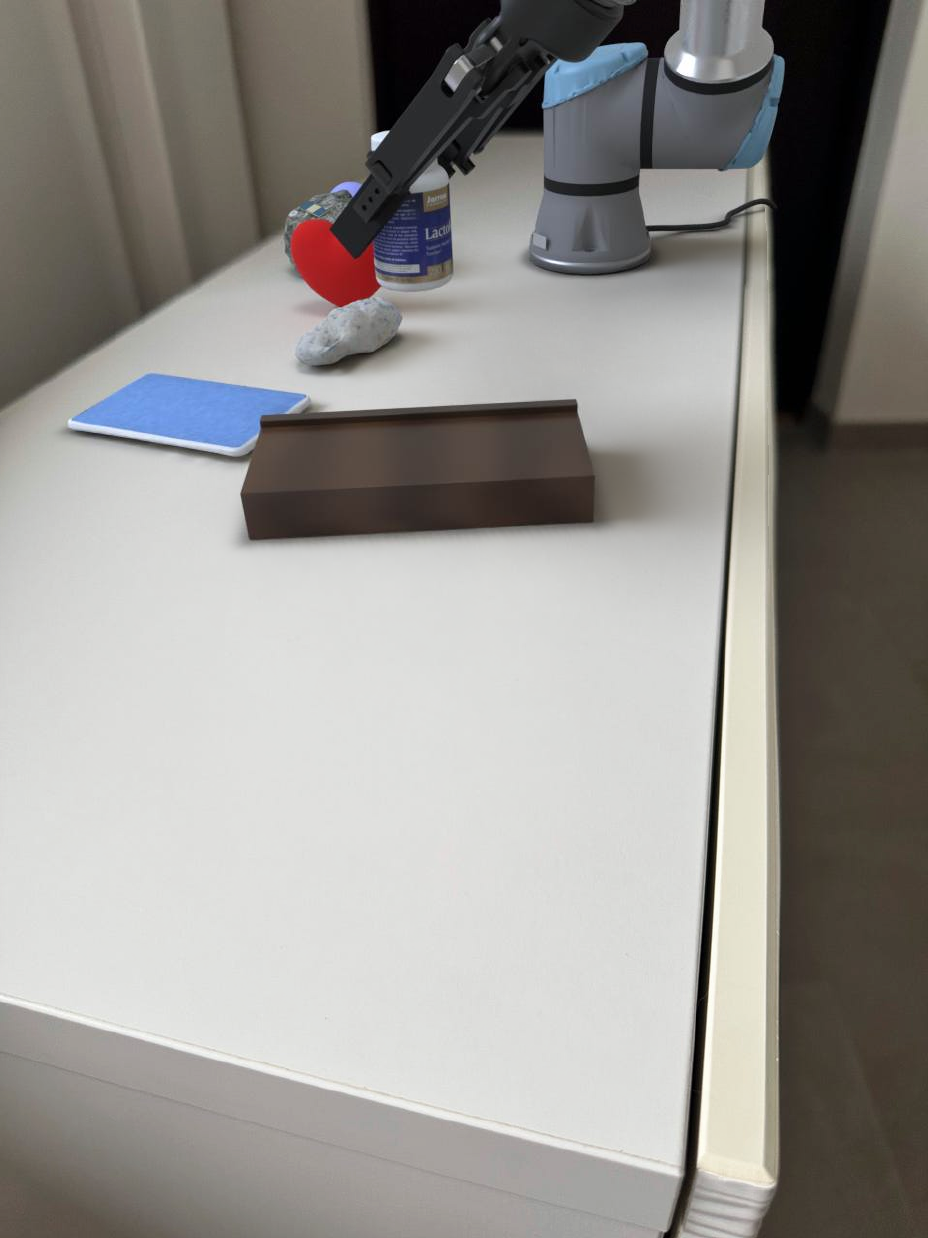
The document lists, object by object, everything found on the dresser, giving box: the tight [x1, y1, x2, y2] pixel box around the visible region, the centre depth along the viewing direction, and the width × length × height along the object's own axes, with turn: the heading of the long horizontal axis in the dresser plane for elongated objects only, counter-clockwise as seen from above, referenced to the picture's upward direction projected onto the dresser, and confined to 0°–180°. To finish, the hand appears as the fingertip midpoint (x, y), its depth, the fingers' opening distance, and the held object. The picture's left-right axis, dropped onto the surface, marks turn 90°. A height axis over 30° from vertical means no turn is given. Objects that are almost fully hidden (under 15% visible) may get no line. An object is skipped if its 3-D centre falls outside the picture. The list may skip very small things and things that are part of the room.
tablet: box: [67, 372, 312, 458], centre depth 94 cm, size 19×13×1 cm, turn 67°
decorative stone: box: [295, 296, 403, 366], centre depth 105 cm, size 13×7×5 cm, turn 148°
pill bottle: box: [370, 130, 454, 293], centre depth 72 cm, size 6×6×10 cm
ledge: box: [239, 398, 596, 540], centre depth 80 cm, size 26×12×5 cm, turn 92°
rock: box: [283, 190, 353, 275], centre depth 127 cm, size 18×14×10 cm
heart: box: [291, 219, 382, 308], centre depth 114 cm, size 12×5×10 cm, turn 75°
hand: (368, 230), depth 74 cm, fingers closed on pill bottle, 6 cm apart
